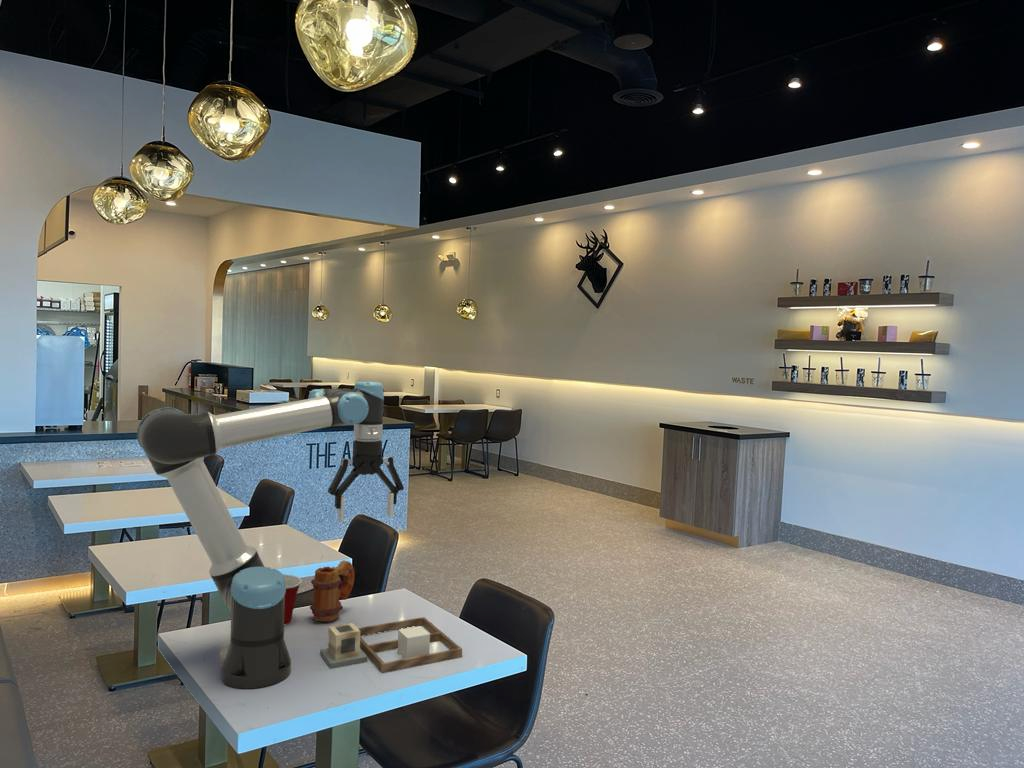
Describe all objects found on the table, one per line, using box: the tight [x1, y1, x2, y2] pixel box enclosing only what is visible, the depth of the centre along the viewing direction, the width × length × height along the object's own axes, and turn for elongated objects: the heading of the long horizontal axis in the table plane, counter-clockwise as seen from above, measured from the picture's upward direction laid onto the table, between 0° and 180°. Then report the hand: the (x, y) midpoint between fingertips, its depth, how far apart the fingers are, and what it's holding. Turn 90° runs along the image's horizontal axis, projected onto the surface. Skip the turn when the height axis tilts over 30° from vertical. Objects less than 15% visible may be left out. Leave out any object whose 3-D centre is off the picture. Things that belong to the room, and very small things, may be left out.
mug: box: [309, 560, 356, 623], centre depth 202 cm, size 15×8×15 cm, turn 147°
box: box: [357, 616, 463, 674], centre depth 183 cm, size 21×24×2 cm
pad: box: [319, 647, 368, 669], centre depth 175 cm, size 9×9×1 cm
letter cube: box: [327, 622, 361, 660], centre depth 175 cm, size 6×6×6 cm
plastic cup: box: [282, 573, 303, 626], centre depth 197 cm, size 11×11×12 cm
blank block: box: [397, 626, 431, 659], centre depth 178 cm, size 6×6×6 cm
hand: (365, 518), depth 191 cm, fingers open, 13 cm apart
